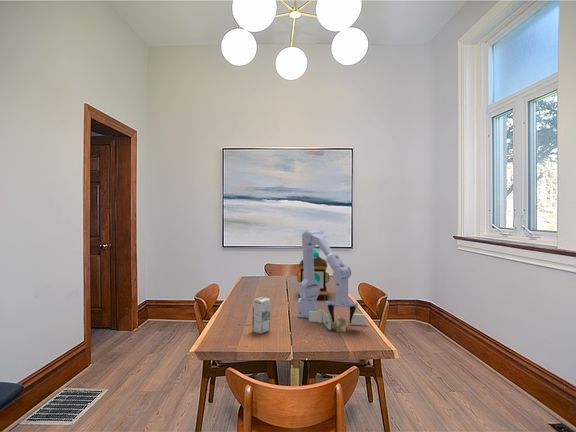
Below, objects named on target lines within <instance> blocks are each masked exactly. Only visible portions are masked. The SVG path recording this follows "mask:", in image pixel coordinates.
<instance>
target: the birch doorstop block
mask: <svg viewBox="0 0 576 432" xmlns="http://www.w3.org/2000/svg"><path fill="white" fill-rule="evenodd" d="M337 332H338V333H346V332H347V317H346V316H337V319H336V333H337Z"/></svg>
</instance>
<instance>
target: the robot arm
mask: <svg viewBox="0 0 576 432" xmlns="http://www.w3.org/2000/svg"><path fill="white" fill-rule="evenodd" d="M301 245H302V258H303V259H302V260H303V266H304V280H303V281H302V282H299V290H298V294H299V295H300V297H301V298H299V297H298V299H297V318H306V319H309V311H318V310H317V309H318V308H317V304H318V303H317V299H318V297H320V296H319V294H320V288H319V284H318V282H317V281H316V280H315V276H314V256H313V249H315V247H316V246H317V247H319V249H320V250H321V252H323V254H324V255H325V256H326V260H325V261H326V262H327V265H329V266H330V268H331V270H332V276H333V278H334V283H335V300H325V307H327V309H328V310H327V311H328V312H329V314H330V318H331V323H335V307H339V308H340V307H343V308H349V311H350V321H349V320H348V325H349V324H351V320H352V317H353V314H355V312H356V309H358V308H359V302H356V301H349V278H350V277H351V276H352V270H351V268H350V266H349V265H346V264H345V263H343V261H342V260H341V258H340V257H339V255H338V254H337V253H335V252H333V251H332V249H331V247H330V245H329V243H328V242H327V239H326V234H325V233H324V231H323V230H322V229H315V230H312V229H311V230H304V232H303V233H302V234H301Z"/></svg>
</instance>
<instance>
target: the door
mask: <svg viewBox="0 0 576 432" xmlns="http://www.w3.org/2000/svg"><path fill="white" fill-rule="evenodd" d="M322 322H323V325H325V327H326V328H327V330H329V331H331V330H332V317H331V316H330V315H328V313H327V312H326V311H324V310H322Z"/></svg>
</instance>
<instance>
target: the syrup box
mask: <svg viewBox="0 0 576 432" xmlns="http://www.w3.org/2000/svg"><path fill="white" fill-rule="evenodd" d="M251 326H252V328H251V329H252V332H254V333H257V334H260V335H262V334H264V333H267V332H270V331H271V298H268V297H263V296H261V297H257V298H254V299H252V325H251Z"/></svg>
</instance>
